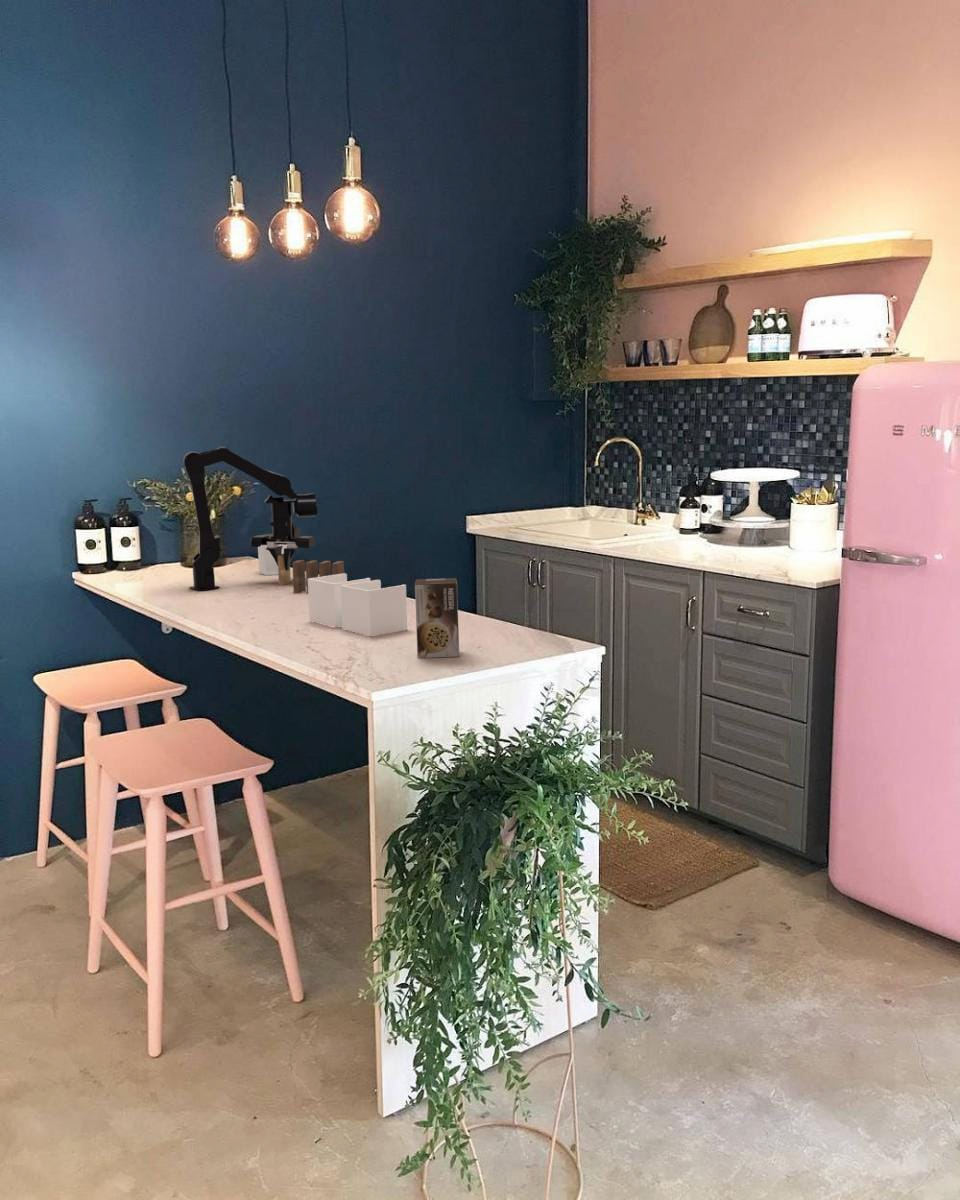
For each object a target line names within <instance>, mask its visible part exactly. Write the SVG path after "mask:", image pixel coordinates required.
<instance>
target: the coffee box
mask: <svg viewBox="0 0 960 1200" xmlns="http://www.w3.org/2000/svg"><path fill="white" fill-rule="evenodd" d="M414 595H415V597H414V598H415V599H414V600H415V621H416V624H415V625H416V627H415V628H416V650H417V654H416V657H417V659H423V658H424V659H425V658H426V659H427V658H428V659H429V658H455V657H457V658H458V657H460V637H459V634H460V633H459V631H460V630H459V629H460V628H459V605H458V602H459V601H458V582H457V578H456V577H454V578H453V577H452V578H448V577H447V578H444V577H443V578H419V579H415V581H414Z"/></svg>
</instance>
